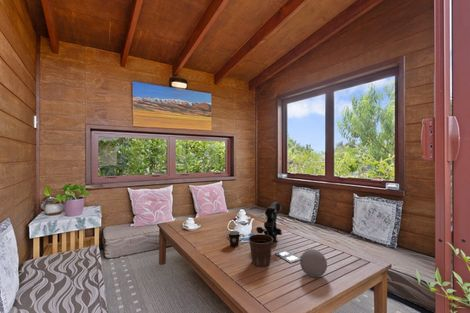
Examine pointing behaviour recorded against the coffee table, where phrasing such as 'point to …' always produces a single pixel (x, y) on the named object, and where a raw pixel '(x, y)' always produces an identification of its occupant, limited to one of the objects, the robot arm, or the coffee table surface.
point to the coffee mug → (234, 238)
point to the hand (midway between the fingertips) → (267, 241)
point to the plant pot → (260, 249)
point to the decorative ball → (313, 263)
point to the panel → (288, 256)
